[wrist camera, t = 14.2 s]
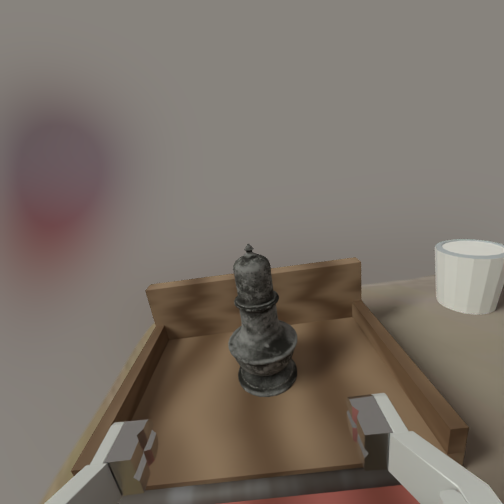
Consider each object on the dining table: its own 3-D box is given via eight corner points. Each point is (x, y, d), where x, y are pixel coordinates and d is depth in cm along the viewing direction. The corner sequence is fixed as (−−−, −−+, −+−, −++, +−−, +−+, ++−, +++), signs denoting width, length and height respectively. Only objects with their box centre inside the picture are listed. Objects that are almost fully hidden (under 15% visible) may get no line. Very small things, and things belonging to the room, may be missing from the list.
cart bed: (356, 319, 31) (355, 257, 28) (555, 603, 11) (613, 475, 8) (167, 343, 31) (150, 284, 29) (25, 649, 11) (-69, 543, 9)
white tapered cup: (481, 287, 33) (489, 236, 31) (520, 317, 27) (533, 256, 25) (421, 289, 35) (425, 240, 33) (445, 317, 29) (451, 259, 27)
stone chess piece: (246, 347, 26) (226, 235, 23) (304, 351, 25) (292, 230, 21) (224, 395, 21) (194, 259, 17) (296, 405, 19) (279, 256, 16)
